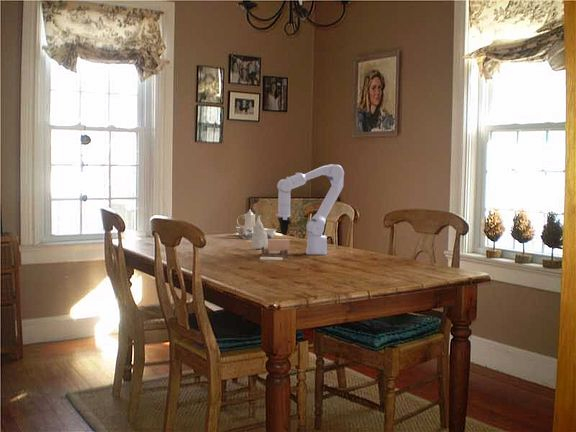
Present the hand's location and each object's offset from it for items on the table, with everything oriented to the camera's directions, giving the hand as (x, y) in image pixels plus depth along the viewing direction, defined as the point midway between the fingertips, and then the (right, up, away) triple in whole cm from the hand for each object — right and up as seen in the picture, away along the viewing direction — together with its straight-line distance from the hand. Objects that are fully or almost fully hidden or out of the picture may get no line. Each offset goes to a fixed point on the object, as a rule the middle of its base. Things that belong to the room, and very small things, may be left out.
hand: (283, 233), depth 326 cm
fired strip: (-6, -12, -14) cm, 19 cm away
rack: (-4, -10, -4) cm, 12 cm away
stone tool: (-12, -8, +16) cm, 22 cm away
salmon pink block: (-2, -8, -4) cm, 9 cm away
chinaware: (-18, -4, +61) cm, 64 cm away
